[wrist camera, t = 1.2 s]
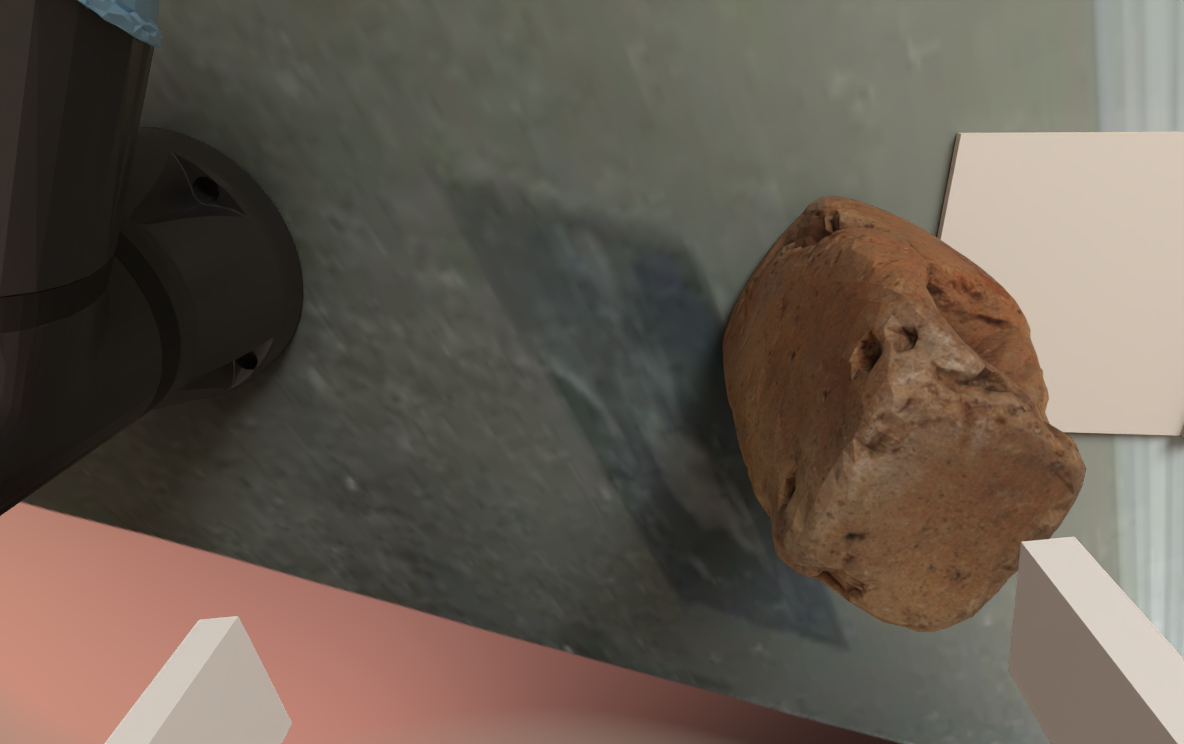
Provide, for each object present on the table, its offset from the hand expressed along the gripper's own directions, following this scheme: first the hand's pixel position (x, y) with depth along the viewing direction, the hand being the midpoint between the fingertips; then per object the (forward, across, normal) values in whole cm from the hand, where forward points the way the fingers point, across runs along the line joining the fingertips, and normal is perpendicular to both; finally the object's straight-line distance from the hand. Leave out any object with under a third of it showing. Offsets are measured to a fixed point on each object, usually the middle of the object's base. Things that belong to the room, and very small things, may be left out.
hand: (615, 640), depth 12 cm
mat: (+27, +23, -6) cm, 36 cm away
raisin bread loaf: (+28, +9, -4) cm, 30 cm away
